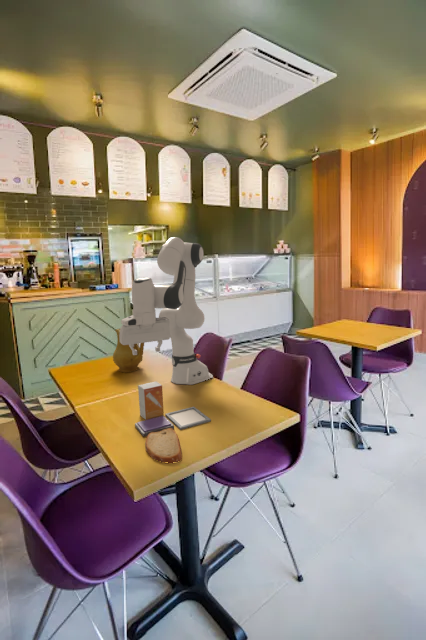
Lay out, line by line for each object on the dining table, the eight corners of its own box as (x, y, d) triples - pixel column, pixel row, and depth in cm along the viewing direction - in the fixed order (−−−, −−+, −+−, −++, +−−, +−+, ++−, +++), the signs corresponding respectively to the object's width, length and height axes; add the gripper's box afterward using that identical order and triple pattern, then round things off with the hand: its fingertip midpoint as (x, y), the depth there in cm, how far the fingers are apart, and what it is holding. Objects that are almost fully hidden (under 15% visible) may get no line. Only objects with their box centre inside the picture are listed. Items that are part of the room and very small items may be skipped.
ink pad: (164, 418, 142) (163, 414, 142) (174, 428, 134) (173, 424, 134) (135, 426, 137) (134, 422, 136) (143, 436, 128) (143, 432, 128)
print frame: (193, 408, 152) (193, 406, 151) (210, 421, 139) (210, 419, 139) (165, 415, 145) (165, 413, 145) (180, 429, 132) (180, 427, 132)
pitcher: (133, 362, 225) (131, 324, 220) (150, 369, 212) (147, 329, 206) (108, 369, 214) (105, 329, 208) (124, 377, 200) (120, 334, 195)
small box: (145, 420, 141) (143, 389, 139) (139, 415, 147) (137, 385, 145) (164, 415, 146) (162, 384, 144) (157, 410, 151) (155, 380, 149)
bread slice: (176, 467, 109) (175, 455, 108) (128, 455, 116) (127, 445, 116) (201, 440, 125) (201, 430, 124) (158, 431, 132) (157, 422, 132)
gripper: (166, 315, 148) (168, 348, 150) (117, 320, 139) (119, 354, 141) (172, 317, 143) (173, 351, 145) (121, 322, 133) (123, 358, 135)
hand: (146, 353), depth 143 cm, fingers open, 8 cm apart
